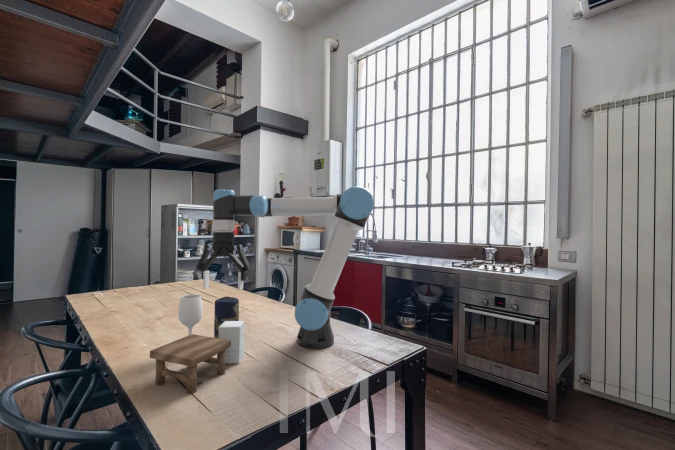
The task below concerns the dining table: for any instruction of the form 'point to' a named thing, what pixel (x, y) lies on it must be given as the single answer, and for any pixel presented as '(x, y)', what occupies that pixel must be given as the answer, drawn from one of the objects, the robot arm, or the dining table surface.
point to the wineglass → (190, 310)
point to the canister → (225, 312)
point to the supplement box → (233, 340)
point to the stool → (189, 357)
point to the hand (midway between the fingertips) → (223, 288)
